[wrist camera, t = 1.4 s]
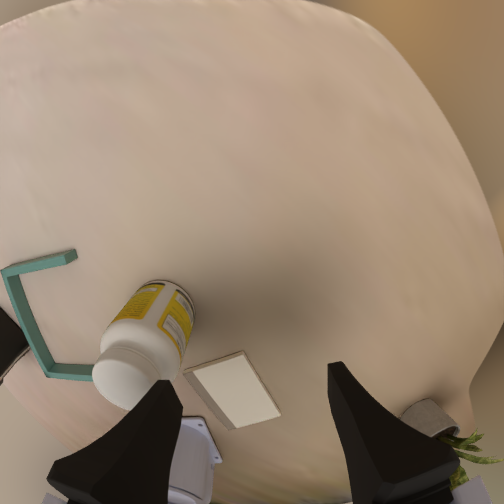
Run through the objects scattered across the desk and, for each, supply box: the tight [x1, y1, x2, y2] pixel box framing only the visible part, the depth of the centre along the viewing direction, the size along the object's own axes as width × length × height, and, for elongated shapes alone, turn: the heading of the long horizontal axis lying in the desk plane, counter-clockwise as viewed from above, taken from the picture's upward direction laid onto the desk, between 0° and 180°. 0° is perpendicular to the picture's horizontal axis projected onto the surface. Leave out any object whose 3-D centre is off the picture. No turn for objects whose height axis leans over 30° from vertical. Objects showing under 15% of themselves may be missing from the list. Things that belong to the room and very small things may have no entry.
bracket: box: [0, 249, 94, 382], centre depth 22 cm, size 13×10×2 cm
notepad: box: [183, 351, 281, 430], centre depth 25 cm, size 9×6×1 cm, turn 24°
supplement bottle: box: [92, 281, 195, 411], centre depth 18 cm, size 5×5×10 cm
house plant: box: [400, 399, 504, 491], centre depth 19 cm, size 14×14×16 cm
